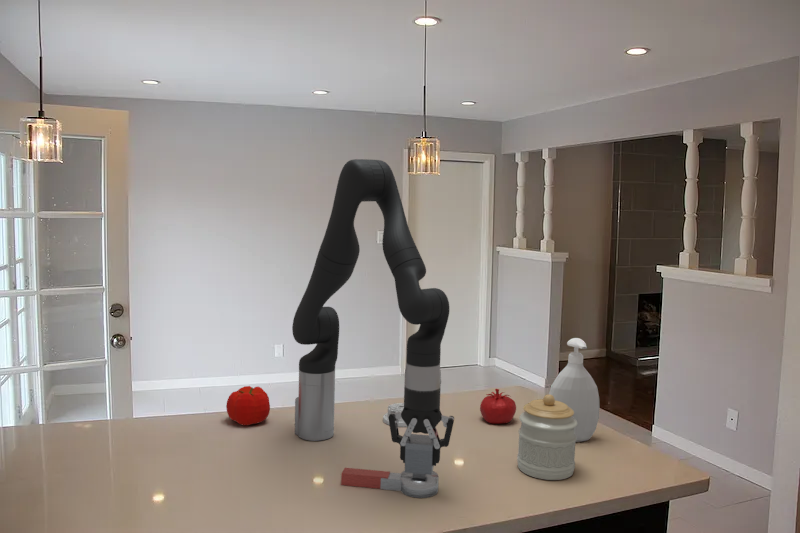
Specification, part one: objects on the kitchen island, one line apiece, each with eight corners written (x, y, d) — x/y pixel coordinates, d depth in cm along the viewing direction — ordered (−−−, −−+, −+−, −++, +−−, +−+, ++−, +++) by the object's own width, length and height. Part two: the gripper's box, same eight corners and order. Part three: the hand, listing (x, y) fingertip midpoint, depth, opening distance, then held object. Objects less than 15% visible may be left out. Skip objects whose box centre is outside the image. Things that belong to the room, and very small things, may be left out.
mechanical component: (379, 425, 171) (415, 429, 169) (379, 410, 171) (415, 413, 169) (387, 414, 181) (421, 417, 179) (388, 399, 181) (422, 402, 179)
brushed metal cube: (404, 472, 130) (405, 443, 129) (408, 461, 135) (409, 433, 135) (431, 474, 129) (432, 445, 128) (434, 464, 134) (435, 435, 134)
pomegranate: (517, 428, 173) (520, 395, 172) (481, 426, 173) (483, 393, 172) (511, 415, 183) (514, 384, 182) (477, 413, 183) (479, 382, 182)
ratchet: (439, 483, 136) (440, 451, 135) (436, 499, 128) (437, 466, 127) (347, 474, 139) (347, 443, 138) (338, 490, 131) (339, 457, 130)
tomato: (235, 414, 177) (235, 382, 176) (276, 417, 175) (276, 385, 174) (219, 426, 166) (219, 393, 165) (262, 430, 165) (263, 396, 164)
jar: (576, 463, 149) (580, 390, 147) (572, 485, 137) (577, 406, 135) (521, 454, 153) (524, 384, 152) (512, 475, 141) (516, 398, 139)
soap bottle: (552, 447, 159) (557, 342, 156) (540, 435, 167) (545, 335, 164) (605, 445, 161) (612, 341, 159) (591, 434, 169) (597, 335, 167)
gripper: (385, 386, 128) (383, 467, 129) (456, 391, 126) (453, 473, 127) (391, 377, 135) (389, 453, 137) (458, 382, 133) (455, 459, 135)
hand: (420, 462), depth 132 cm, fingers closed on brushed metal cube, 5 cm apart
